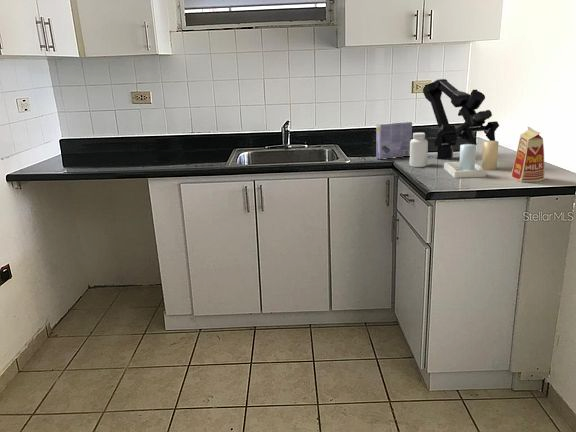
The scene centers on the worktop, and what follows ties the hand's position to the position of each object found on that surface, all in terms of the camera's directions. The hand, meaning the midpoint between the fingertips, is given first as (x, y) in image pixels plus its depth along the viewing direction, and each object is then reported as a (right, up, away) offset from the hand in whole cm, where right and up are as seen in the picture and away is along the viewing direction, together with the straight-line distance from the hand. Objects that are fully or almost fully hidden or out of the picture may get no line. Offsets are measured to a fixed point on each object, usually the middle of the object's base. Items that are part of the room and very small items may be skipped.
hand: (485, 144), depth 212 cm
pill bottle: (-24, -8, +16) cm, 30 cm away
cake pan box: (-30, -1, +40) cm, 50 cm away
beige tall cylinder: (+2, -11, 0) cm, 11 cm away
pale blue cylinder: (-11, -14, -9) cm, 20 cm away
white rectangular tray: (-11, -13, -5) cm, 18 cm away
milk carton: (+8, -17, -22) cm, 29 cm away
